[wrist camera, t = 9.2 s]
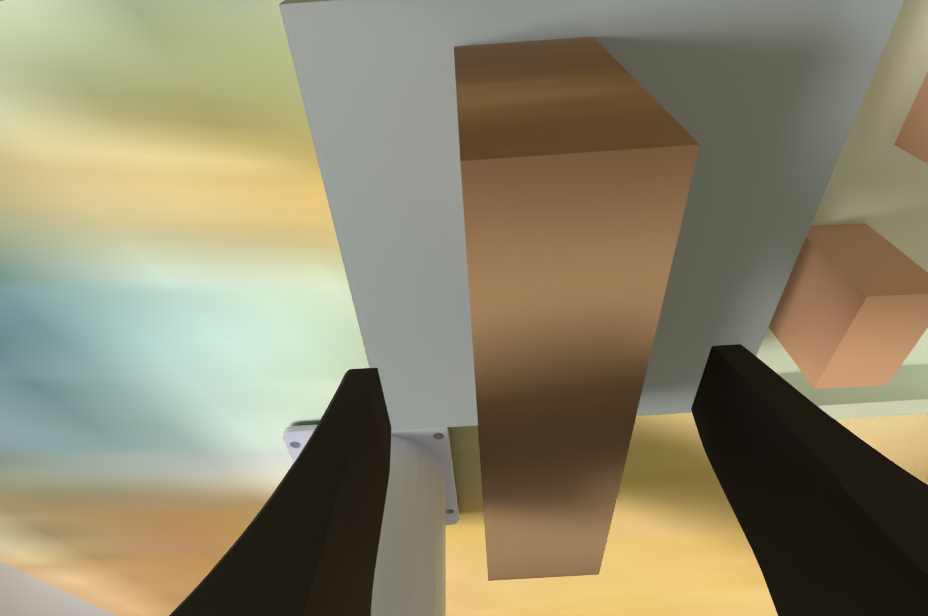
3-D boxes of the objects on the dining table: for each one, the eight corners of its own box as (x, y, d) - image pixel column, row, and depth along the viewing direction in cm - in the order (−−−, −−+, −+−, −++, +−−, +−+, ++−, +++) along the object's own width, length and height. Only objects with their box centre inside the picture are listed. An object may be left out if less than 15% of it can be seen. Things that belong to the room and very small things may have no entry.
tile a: (759, 313, 21) (820, 310, 21) (813, 388, 18) (887, 385, 18) (795, 226, 18) (866, 223, 18) (867, 296, 15) (952, 292, 15)
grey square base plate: (693, 336, 22) (733, 409, 19) (393, 356, 23) (385, 431, 19) (812, -60, 13) (922, -43, 10) (316, -23, 14) (278, 4, 11)
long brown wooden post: (560, 403, 19) (598, 574, 14) (477, 408, 19) (488, 580, 14) (592, 36, 11) (699, 144, 6) (453, 46, 11) (460, 160, 7)
